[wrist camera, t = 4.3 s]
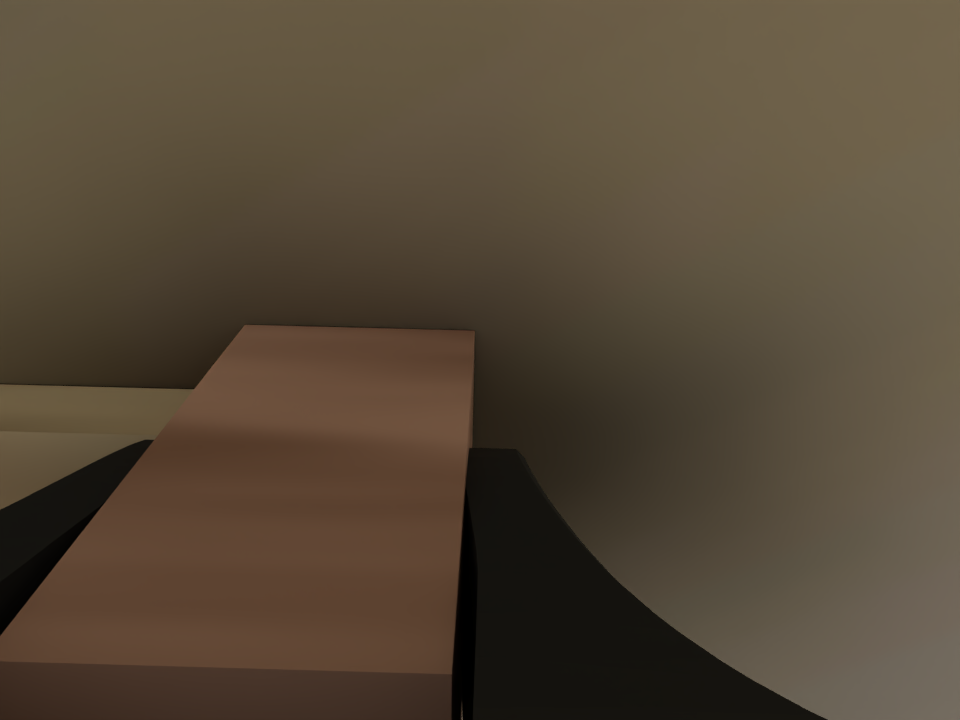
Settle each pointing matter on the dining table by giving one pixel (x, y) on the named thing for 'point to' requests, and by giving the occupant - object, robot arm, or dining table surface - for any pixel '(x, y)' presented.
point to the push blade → (254, 536)
